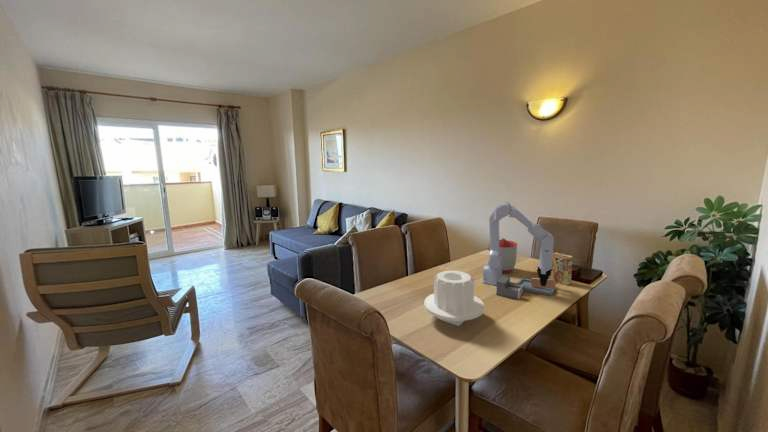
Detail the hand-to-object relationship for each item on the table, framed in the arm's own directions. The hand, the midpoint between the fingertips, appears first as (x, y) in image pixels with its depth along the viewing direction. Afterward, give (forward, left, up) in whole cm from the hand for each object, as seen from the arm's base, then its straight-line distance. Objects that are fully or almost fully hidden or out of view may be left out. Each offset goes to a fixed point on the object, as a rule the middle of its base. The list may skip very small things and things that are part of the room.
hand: (544, 283), depth 159 cm
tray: (-4, 0, -4) cm, 5 cm away
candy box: (+6, +15, -4) cm, 17 cm away
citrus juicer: (-26, +18, -4) cm, 32 cm away
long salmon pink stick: (0, 0, -2) cm, 2 cm away
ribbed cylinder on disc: (-28, -50, -4) cm, 58 cm away
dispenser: (-14, -13, -4) cm, 19 cm away
